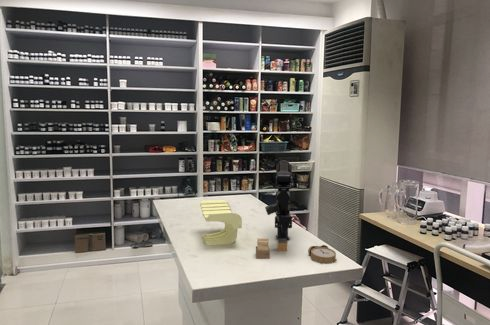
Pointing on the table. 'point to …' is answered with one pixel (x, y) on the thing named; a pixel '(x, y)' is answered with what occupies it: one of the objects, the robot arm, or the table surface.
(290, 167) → the robot arm
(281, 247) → the grey-faced wooden cube
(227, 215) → the slatted curved stool
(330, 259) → the alarm clock
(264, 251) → the walnut block
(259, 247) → the oak block
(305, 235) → the table surface
